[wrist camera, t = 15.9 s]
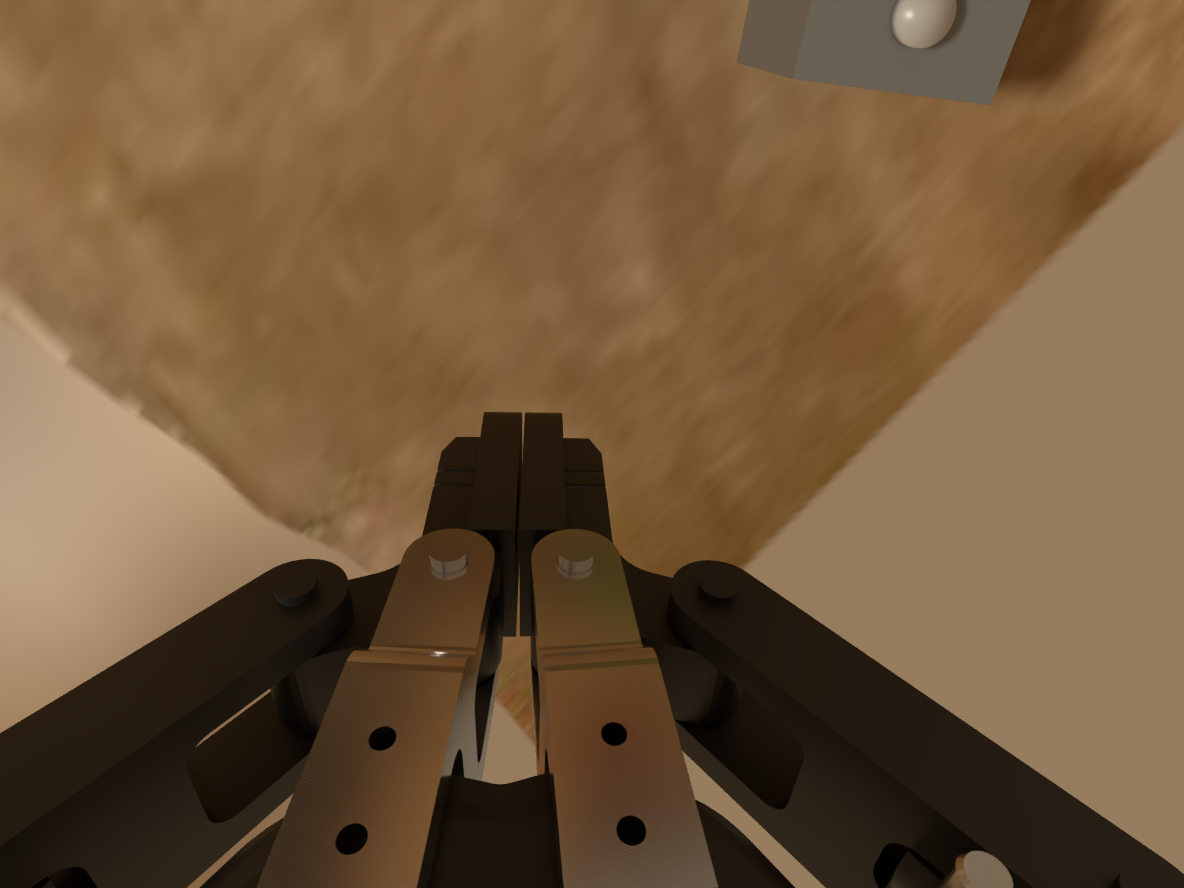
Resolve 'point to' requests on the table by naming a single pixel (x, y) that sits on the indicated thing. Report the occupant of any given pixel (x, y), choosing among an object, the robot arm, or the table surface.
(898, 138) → the table surface
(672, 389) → the table surface
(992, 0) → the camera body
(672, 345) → the table surface
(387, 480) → the table surface
